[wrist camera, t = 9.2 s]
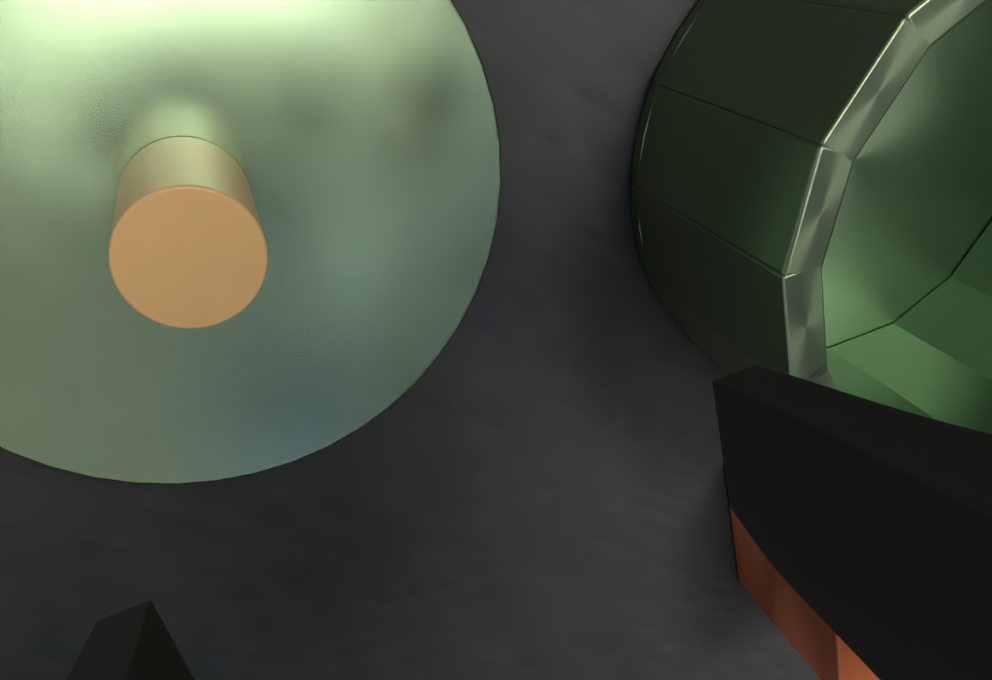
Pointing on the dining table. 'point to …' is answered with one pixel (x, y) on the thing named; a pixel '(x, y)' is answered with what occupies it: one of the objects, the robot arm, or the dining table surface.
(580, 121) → the dining table surface
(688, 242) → the tin
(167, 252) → the lid
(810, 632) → the block
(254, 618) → the dining table surface
